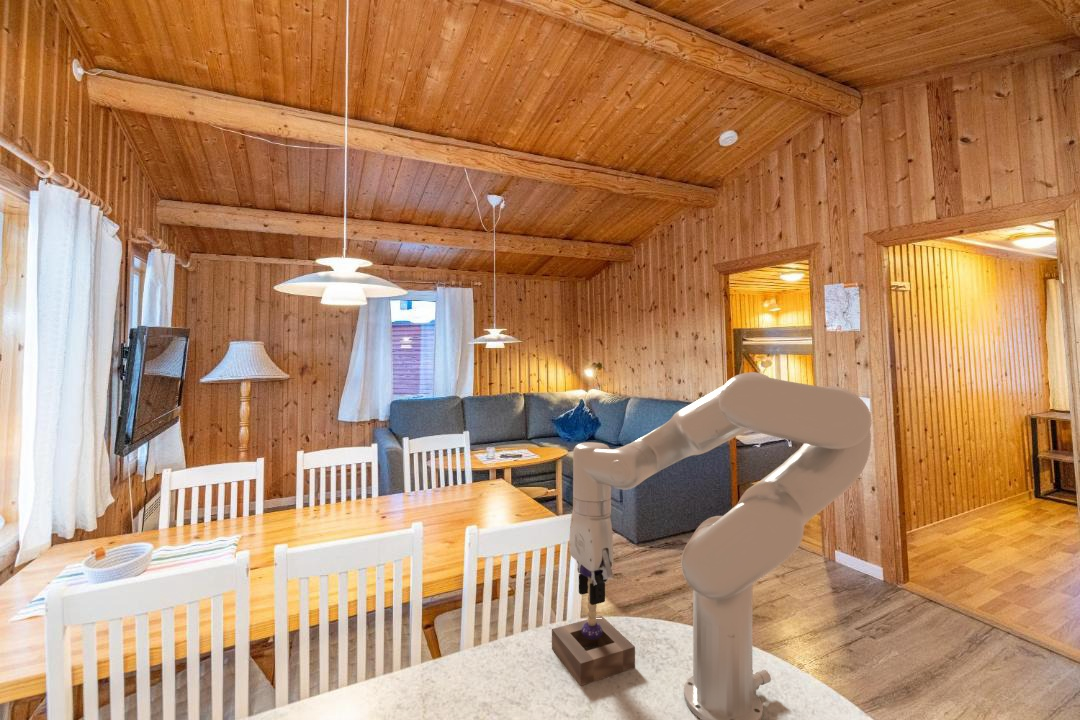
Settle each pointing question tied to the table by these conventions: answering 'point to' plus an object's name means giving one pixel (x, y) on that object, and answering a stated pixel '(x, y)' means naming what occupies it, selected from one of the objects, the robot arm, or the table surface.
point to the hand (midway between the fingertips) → (591, 596)
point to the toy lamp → (590, 612)
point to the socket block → (593, 651)
